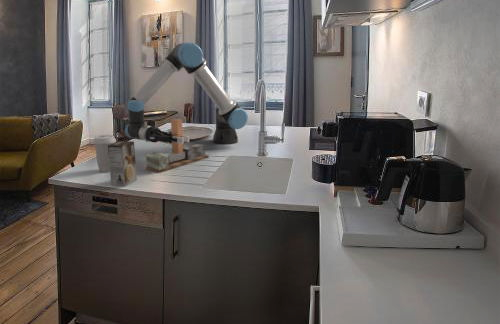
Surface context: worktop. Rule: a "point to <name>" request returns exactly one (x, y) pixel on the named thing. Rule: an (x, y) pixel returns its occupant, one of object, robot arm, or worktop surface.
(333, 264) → the worktop surface
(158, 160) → the stand
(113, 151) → the coffee box
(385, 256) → the worktop surface
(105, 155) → the coffee cup
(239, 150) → the worktop surface
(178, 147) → the orange and grey l-shape
